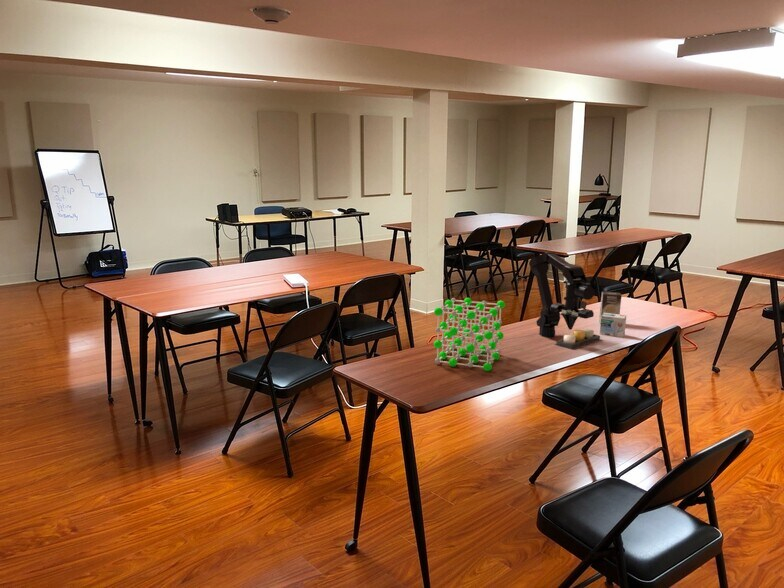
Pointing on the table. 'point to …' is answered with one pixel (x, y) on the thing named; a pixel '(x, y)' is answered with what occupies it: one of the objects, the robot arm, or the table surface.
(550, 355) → the table surface
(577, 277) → the robot arm
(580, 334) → the amber button
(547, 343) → the table surface
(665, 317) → the table surface
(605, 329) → the light bulb box
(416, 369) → the table surface
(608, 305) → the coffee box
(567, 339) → the ivory button
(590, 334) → the sage button
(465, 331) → the molecular structure model
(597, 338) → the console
